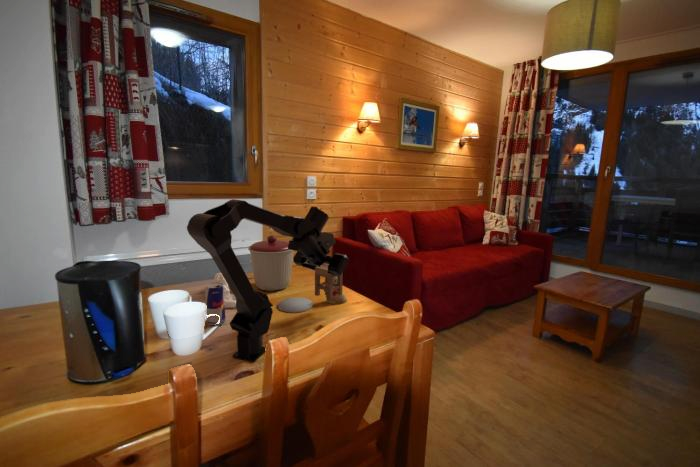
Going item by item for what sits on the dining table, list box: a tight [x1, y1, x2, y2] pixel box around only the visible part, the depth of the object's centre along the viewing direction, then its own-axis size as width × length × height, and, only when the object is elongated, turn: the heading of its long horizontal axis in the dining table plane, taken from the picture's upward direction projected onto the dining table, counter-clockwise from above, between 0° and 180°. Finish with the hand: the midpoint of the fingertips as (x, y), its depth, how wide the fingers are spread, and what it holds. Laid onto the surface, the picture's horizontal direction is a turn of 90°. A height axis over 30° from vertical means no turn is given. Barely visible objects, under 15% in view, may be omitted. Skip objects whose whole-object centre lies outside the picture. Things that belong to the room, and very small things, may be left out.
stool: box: [314, 263, 344, 300], centre depth 110 cm, size 6×6×10 cm
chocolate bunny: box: [323, 276, 348, 305], centre depth 121 cm, size 6×8×10 cm
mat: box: [277, 297, 314, 314], centre depth 117 cm, size 12×12×1 cm
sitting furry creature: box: [214, 271, 236, 309], centre depth 115 cm, size 10×9×12 cm
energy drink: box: [204, 281, 227, 326], centre depth 102 cm, size 5×5×12 cm
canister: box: [247, 235, 294, 292], centre depth 133 cm, size 18×18×21 cm
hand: (331, 273), depth 110 cm, fingers closed on stool, 6 cm apart
